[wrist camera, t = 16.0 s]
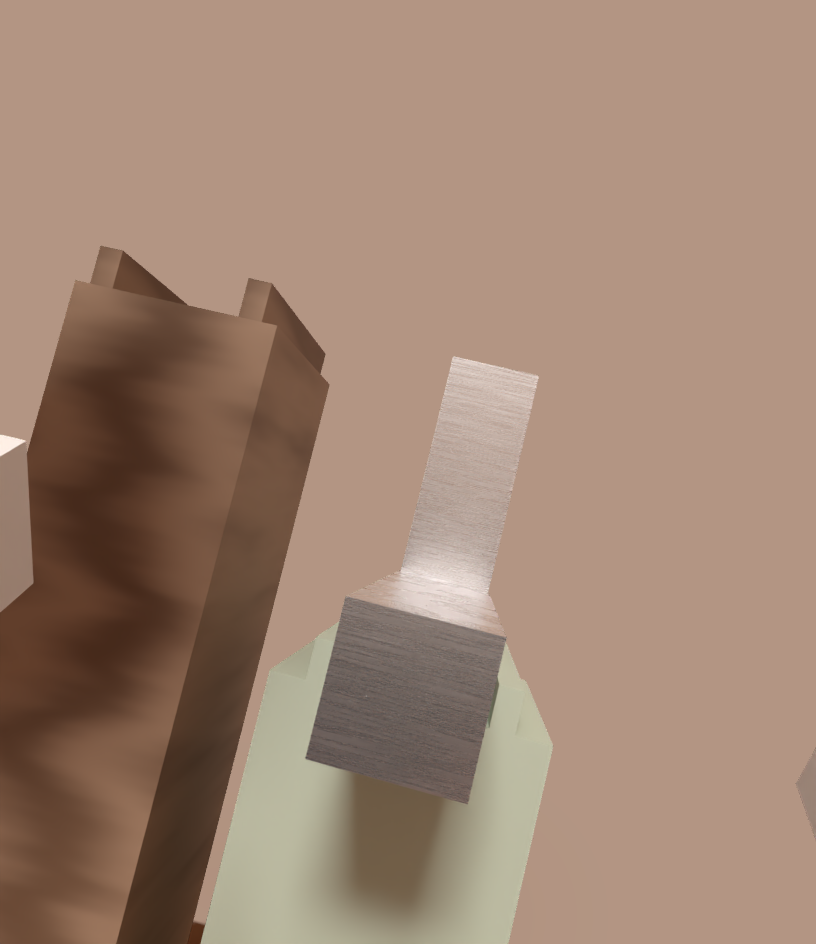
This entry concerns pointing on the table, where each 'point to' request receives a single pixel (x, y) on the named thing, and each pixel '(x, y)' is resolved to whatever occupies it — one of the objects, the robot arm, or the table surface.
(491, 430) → the stepped metal block
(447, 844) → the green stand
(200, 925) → the table surface
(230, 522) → the walnut stand
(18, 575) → the robot arm
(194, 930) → the table surface
